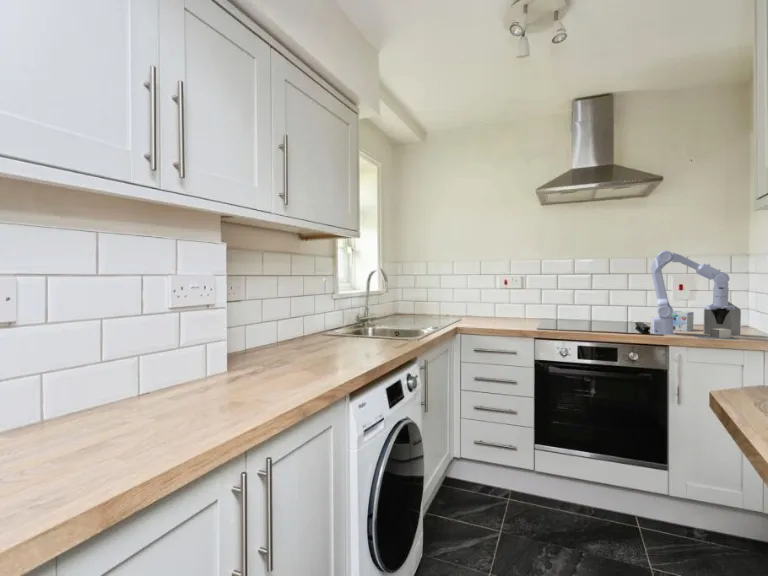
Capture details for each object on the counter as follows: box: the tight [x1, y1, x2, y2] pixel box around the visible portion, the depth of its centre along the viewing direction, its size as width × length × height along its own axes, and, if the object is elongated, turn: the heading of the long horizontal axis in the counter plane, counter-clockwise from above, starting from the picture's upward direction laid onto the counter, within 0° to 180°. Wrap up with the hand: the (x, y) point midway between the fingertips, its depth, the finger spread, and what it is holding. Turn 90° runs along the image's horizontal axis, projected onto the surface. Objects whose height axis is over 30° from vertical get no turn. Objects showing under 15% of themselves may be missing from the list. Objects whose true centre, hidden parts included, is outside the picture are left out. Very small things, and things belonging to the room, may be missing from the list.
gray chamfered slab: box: [702, 301, 742, 337], centre depth 208 cm, size 16×8×19 cm, turn 77°
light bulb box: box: [671, 310, 695, 332], centre depth 225 cm, size 11×7×11 cm, turn 27°
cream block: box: [710, 329, 732, 338], centre depth 195 cm, size 4×4×7 cm
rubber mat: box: [691, 334, 740, 341], centre depth 195 cm, size 16×12×1 cm
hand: (719, 324), depth 195 cm, fingers closed
